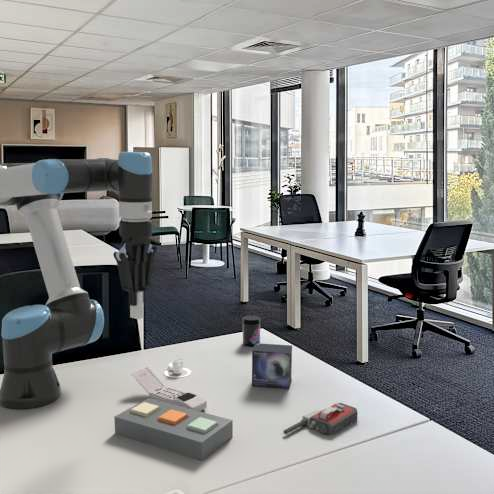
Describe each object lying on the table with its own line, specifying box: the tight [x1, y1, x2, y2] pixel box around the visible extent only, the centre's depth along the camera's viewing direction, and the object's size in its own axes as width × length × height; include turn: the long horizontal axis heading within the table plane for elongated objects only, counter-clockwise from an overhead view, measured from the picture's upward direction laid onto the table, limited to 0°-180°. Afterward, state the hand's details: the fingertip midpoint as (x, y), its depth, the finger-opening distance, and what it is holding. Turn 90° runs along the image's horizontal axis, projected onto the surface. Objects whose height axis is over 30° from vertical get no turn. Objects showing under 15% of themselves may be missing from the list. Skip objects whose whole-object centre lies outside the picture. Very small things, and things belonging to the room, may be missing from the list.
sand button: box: [131, 402, 160, 417], centre depth 137 cm, size 5×5×4 cm
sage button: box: [188, 417, 217, 434], centre depth 129 cm, size 5×5×4 cm
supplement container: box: [242, 315, 261, 347], centre depth 197 cm, size 6×6×9 cm
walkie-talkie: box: [283, 402, 358, 436], centre depth 138 cm, size 9×4×20 cm
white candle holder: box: [163, 358, 192, 379], centre depth 172 cm, size 9×8×4 cm
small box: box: [251, 342, 293, 390], centre depth 163 cm, size 11×6×10 cm, turn 80°
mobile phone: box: [130, 367, 208, 412], centre depth 151 cm, size 6×6×25 cm
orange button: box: [158, 409, 187, 425], centre depth 133 cm, size 5×5×4 cm
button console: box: [114, 397, 234, 461], centre depth 133 cm, size 24×12×4 cm, turn 60°
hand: (136, 317), depth 141 cm, fingers closed
